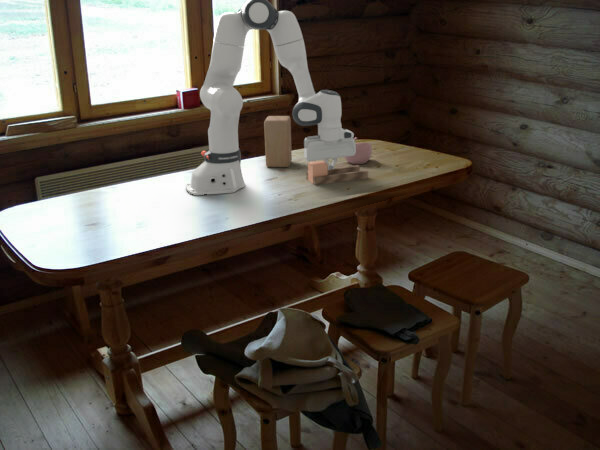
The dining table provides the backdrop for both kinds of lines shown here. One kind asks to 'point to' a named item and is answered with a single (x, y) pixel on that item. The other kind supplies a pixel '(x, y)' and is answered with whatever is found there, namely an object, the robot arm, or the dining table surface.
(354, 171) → the chute
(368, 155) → the mortar and pestle
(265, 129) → the wooden block
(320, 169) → the block
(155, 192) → the dining table surface
